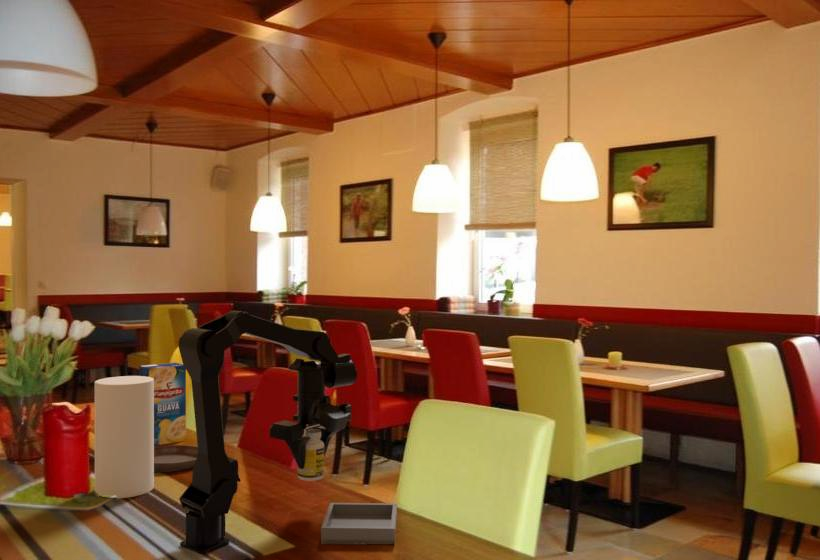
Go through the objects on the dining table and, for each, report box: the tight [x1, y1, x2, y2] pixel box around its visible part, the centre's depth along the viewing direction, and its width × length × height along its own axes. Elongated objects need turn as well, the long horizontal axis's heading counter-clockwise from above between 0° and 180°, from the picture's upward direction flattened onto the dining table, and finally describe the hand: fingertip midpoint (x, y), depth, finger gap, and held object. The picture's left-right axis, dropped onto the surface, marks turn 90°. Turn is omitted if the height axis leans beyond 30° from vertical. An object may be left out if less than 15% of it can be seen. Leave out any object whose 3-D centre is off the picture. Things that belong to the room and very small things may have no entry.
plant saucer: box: [154, 444, 198, 473], centre depth 181 cm, size 18×18×3 cm
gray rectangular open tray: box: [320, 502, 398, 545], centre depth 137 cm, size 14×14×3 cm
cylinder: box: [94, 375, 155, 499], centre depth 160 cm, size 12×12×25 cm
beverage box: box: [138, 362, 187, 447], centre depth 203 cm, size 7×11×22 cm, turn 133°
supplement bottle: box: [297, 429, 325, 482], centre depth 147 cm, size 5×5×10 cm
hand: (310, 465), depth 147 cm, fingers closed on supplement bottle, 5 cm apart
